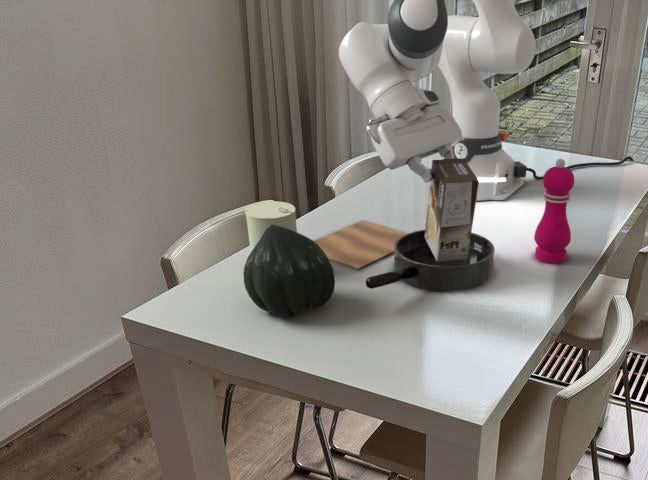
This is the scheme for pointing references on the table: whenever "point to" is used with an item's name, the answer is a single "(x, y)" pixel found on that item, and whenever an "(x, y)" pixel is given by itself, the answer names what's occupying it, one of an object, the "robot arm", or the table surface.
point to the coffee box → (451, 209)
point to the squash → (288, 272)
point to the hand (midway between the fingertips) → (442, 175)
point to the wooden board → (359, 244)
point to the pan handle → (391, 277)
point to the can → (268, 218)
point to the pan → (444, 263)
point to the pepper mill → (554, 215)
